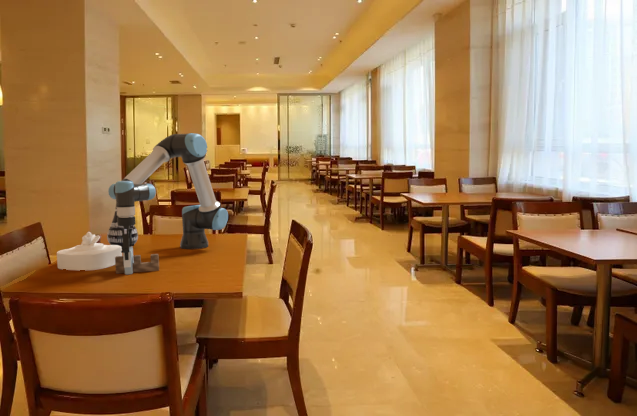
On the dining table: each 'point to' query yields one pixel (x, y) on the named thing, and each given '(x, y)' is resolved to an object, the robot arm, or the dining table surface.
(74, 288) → the dining table surface
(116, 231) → the vase
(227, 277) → the dining table surface
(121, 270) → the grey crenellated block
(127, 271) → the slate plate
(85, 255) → the tissue box
